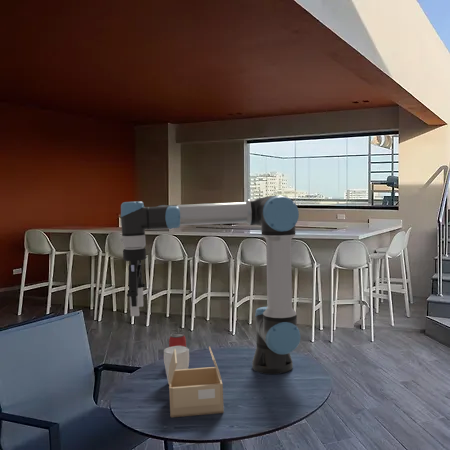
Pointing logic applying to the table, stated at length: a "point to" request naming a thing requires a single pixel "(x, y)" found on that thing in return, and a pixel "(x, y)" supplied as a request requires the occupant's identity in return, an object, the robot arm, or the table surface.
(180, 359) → the cup
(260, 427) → the table surface
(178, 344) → the beer can
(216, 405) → the carton
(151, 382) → the table surface
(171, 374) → the flap
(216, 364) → the flap
